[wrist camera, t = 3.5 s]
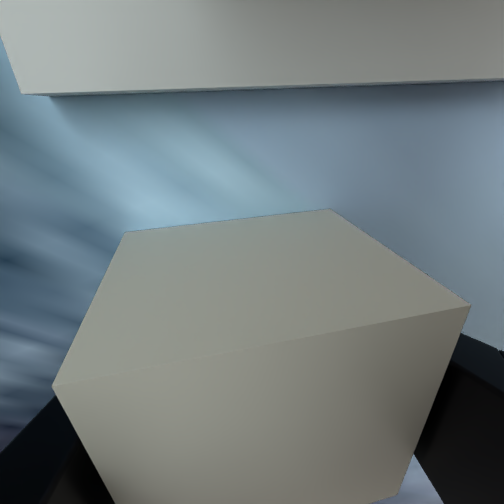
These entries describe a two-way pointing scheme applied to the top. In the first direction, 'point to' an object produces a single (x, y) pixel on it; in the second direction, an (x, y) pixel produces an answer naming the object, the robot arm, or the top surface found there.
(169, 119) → the top surface
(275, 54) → the baseplate
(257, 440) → the cream brick
